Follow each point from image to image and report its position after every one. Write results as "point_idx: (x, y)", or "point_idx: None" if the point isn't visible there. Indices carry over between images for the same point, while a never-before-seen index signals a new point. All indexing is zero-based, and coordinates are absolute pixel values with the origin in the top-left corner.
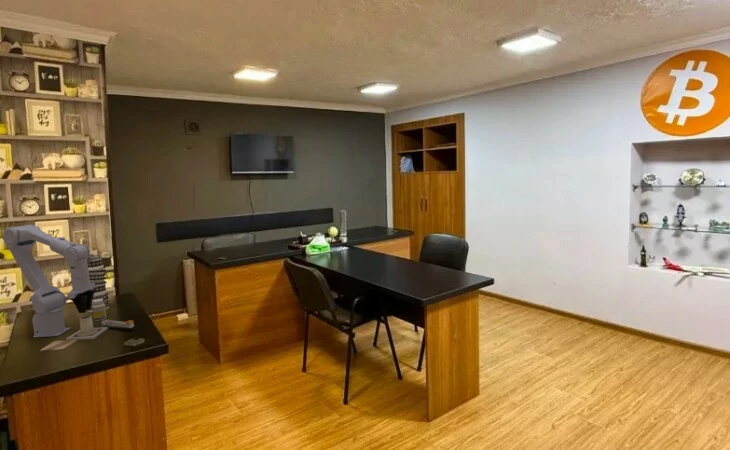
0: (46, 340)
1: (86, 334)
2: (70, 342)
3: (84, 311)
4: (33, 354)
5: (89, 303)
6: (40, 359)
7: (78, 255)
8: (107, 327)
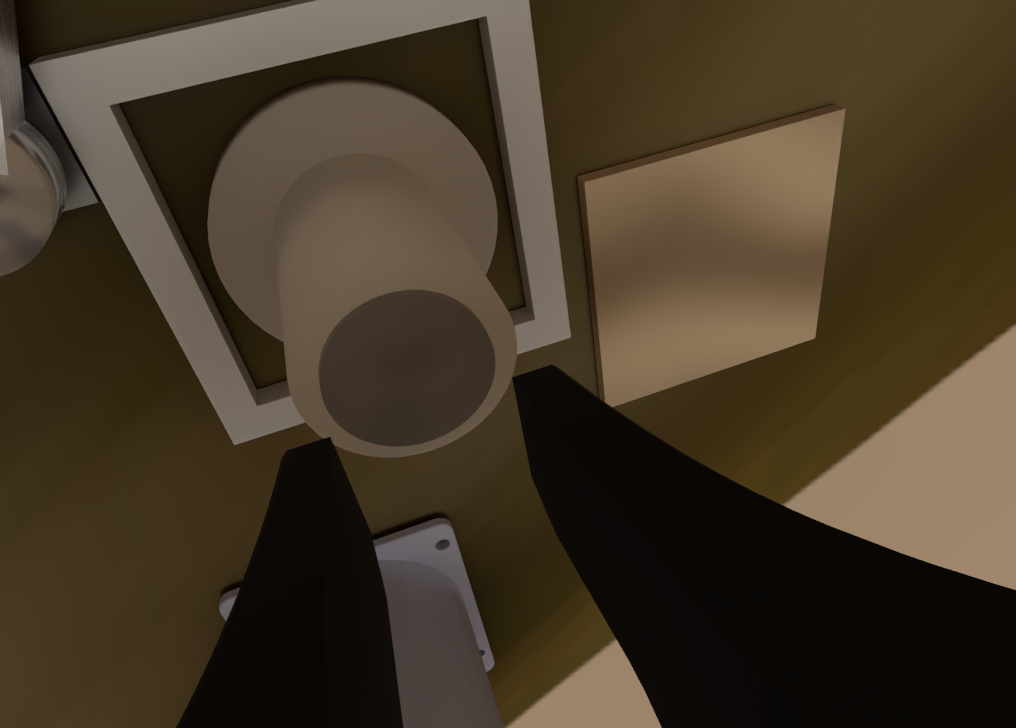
0: (545, 516)
1: (468, 154)
2: (668, 189)
3: (567, 380)
4: (854, 329)
5: (331, 577)
6: (999, 153)
7: None
8: (47, 59)
